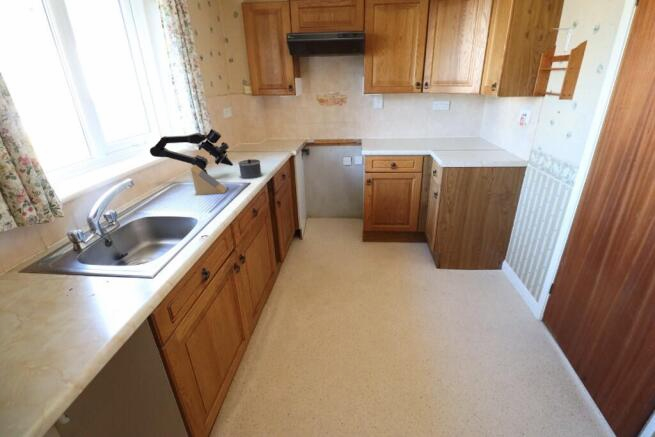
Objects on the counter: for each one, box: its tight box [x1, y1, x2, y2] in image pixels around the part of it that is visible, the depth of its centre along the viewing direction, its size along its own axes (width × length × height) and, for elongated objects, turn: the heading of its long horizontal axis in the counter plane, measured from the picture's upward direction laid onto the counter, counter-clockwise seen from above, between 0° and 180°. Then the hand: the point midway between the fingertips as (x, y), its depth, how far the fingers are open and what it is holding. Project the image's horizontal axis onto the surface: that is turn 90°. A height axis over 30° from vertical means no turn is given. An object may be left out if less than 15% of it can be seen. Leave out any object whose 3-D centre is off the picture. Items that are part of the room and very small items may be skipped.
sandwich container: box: [190, 165, 228, 196], centre depth 177 cm, size 9×15×15 cm, turn 94°
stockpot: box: [238, 158, 262, 180], centre depth 205 cm, size 14×14×11 cm
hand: (232, 165), depth 203 cm, fingers closed
